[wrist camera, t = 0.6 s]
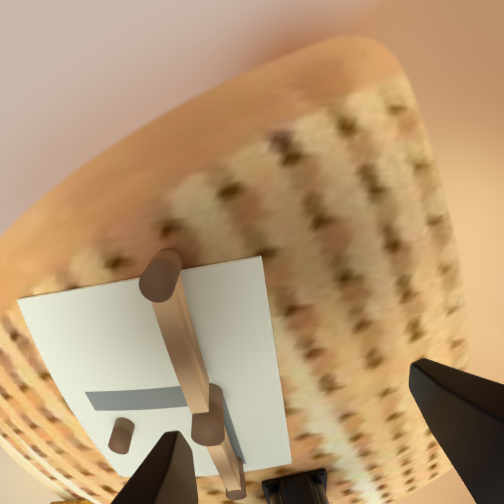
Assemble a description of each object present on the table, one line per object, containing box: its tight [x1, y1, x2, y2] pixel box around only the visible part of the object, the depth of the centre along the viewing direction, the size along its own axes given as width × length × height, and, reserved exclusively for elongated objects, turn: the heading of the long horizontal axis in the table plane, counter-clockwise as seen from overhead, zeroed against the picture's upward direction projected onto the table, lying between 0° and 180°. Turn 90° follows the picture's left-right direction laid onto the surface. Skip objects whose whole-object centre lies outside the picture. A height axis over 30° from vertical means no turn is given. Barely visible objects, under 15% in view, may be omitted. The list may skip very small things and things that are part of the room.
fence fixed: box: [108, 383, 247, 500], centre depth 18 cm, size 11×9×4 cm
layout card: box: [17, 255, 292, 477], centre depth 19 cm, size 20×17×1 cm
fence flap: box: [139, 249, 209, 414], centre depth 15 cm, size 9×2×3 cm, turn 9°
